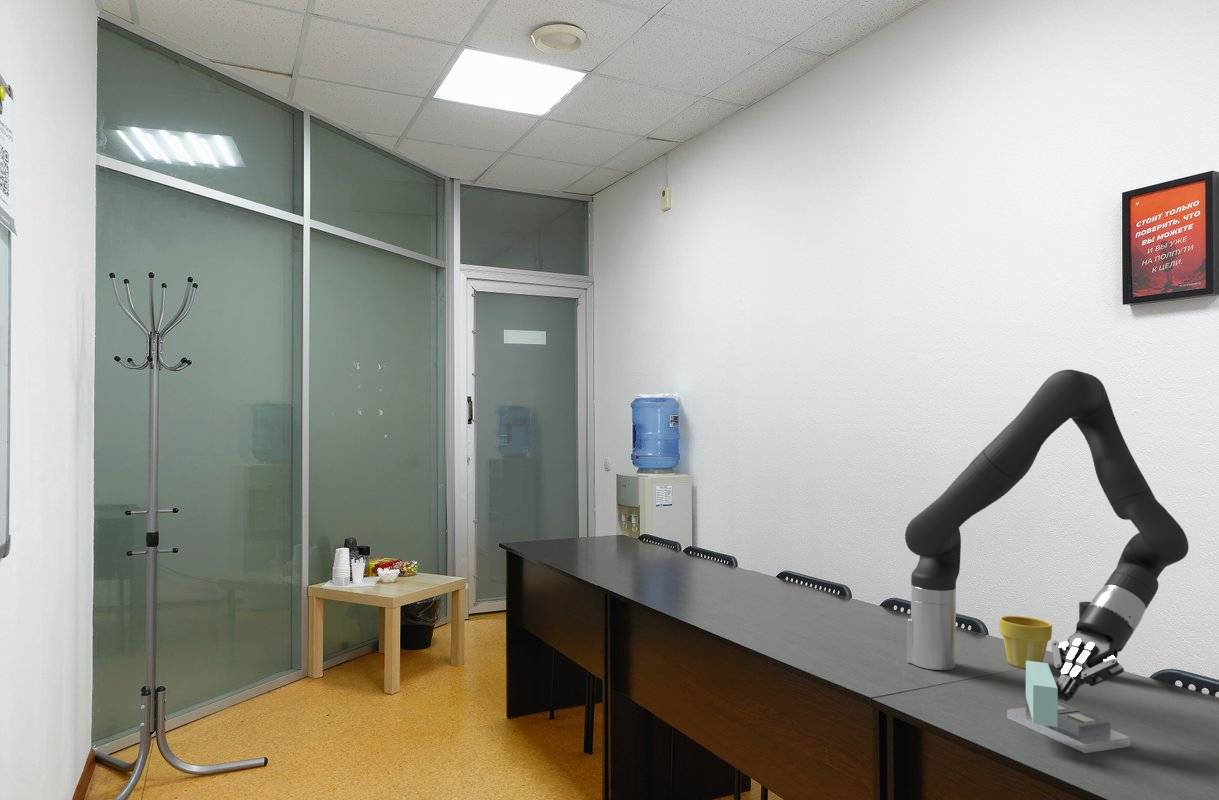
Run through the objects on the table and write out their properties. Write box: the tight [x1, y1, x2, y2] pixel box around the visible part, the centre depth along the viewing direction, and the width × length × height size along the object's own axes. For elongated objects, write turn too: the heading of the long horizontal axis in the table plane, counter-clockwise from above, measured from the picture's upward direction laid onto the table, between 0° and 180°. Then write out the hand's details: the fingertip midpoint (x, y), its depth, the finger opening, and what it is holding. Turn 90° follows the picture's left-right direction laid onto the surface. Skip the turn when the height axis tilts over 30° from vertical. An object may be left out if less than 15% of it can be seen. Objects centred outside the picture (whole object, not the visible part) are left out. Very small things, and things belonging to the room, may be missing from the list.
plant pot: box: [999, 615, 1053, 669], centre depth 178 cm, size 10×10×10 cm
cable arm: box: [1025, 661, 1059, 727], centre depth 138 cm, size 17×4×6 cm, turn 157°
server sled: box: [1006, 700, 1131, 754], centre depth 139 cm, size 16×10×4 cm, turn 18°
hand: (1059, 697), depth 134 cm, fingers closed
